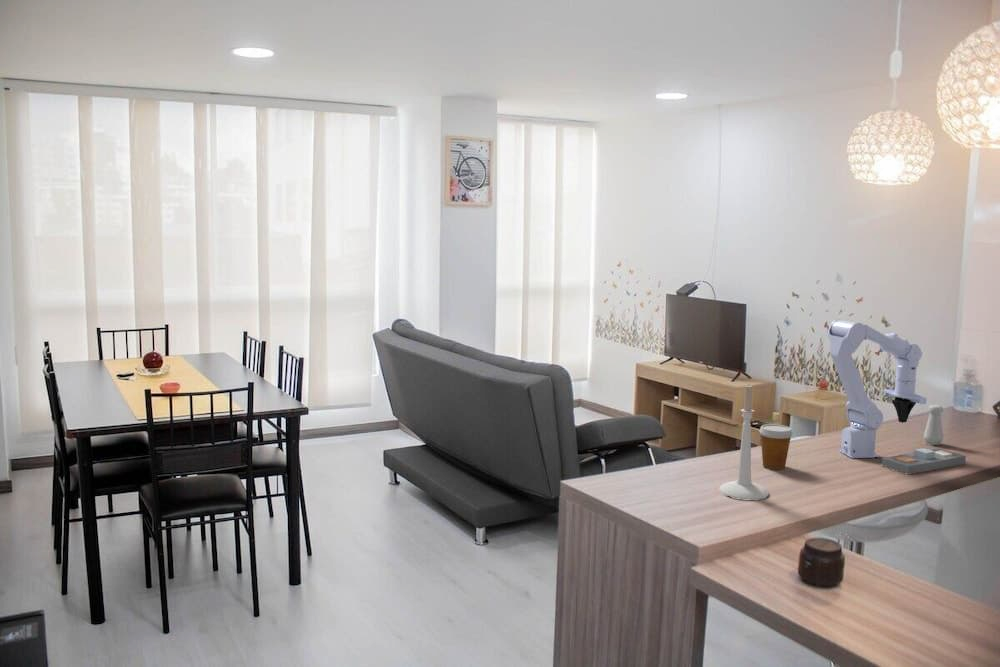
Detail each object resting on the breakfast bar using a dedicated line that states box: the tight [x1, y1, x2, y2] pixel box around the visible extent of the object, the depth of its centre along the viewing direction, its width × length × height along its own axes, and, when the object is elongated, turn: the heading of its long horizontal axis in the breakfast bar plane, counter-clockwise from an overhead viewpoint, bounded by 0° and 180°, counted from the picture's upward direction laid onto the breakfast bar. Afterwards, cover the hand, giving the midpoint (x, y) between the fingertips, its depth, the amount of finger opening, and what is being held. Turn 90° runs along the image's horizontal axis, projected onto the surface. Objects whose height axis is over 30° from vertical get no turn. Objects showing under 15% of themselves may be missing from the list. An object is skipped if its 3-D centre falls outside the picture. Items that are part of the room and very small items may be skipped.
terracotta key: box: [895, 456, 916, 463], centre depth 248 cm, size 4×4×2 cm
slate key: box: [913, 447, 935, 460], centre depth 251 cm, size 4×4×2 cm
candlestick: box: [718, 384, 769, 501], centre depth 224 cm, size 13×13×30 cm
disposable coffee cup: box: [758, 423, 794, 470], centre depth 248 cm, size 10×10×12 cm
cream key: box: [935, 450, 953, 457], centre depth 254 cm, size 4×4×2 cm
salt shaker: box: [923, 404, 944, 446], centre depth 273 cm, size 6×6×13 cm
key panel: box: [881, 448, 967, 475], centre depth 251 cm, size 25×9×2 cm, turn 115°
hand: (902, 421), depth 265 cm, fingers closed
